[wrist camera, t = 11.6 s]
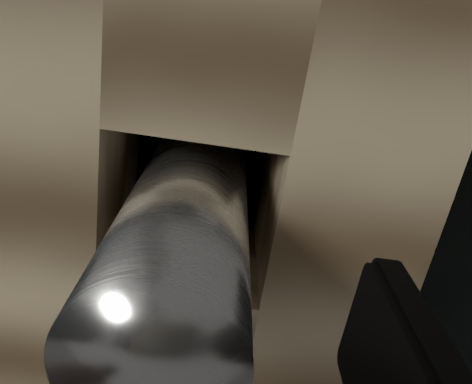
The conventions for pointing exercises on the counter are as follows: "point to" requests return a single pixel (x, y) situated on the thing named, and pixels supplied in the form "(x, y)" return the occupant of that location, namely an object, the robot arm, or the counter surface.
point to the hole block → (235, 136)
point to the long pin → (165, 281)
